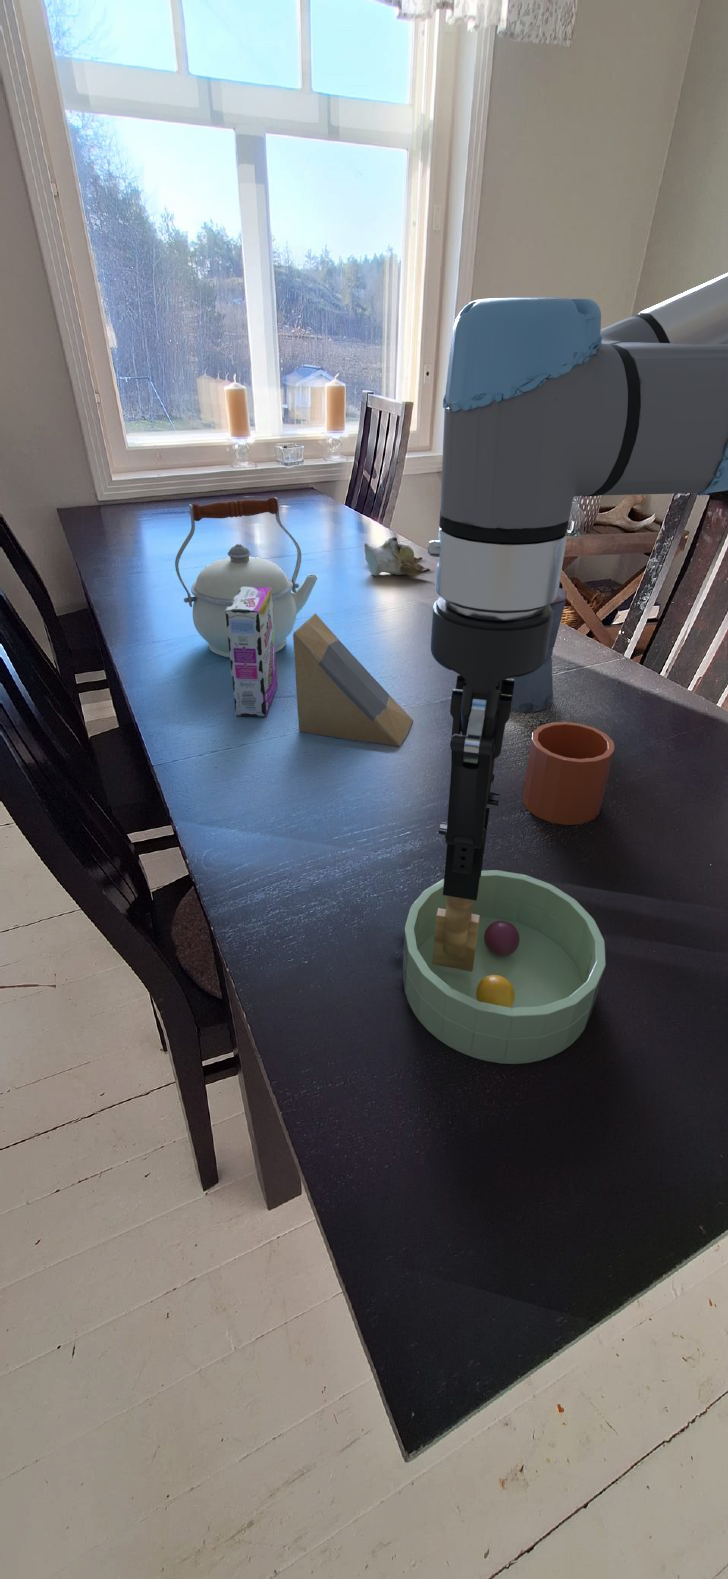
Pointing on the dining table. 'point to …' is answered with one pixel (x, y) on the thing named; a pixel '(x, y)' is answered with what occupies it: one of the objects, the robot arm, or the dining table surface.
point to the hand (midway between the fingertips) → (462, 882)
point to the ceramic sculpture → (393, 558)
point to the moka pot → (539, 670)
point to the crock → (567, 772)
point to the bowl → (508, 971)
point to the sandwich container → (341, 691)
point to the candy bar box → (252, 650)
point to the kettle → (242, 578)
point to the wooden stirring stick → (456, 934)
